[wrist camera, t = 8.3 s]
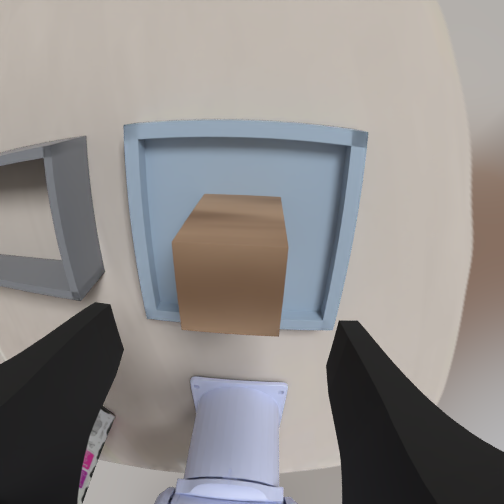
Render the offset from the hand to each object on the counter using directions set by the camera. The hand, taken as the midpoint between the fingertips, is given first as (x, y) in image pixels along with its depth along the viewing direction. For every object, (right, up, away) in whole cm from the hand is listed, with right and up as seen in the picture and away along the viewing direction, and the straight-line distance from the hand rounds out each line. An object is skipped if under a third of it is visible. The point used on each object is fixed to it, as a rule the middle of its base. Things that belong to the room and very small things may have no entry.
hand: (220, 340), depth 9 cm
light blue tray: (0, +4, +8) cm, 9 cm away
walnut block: (0, +4, +7) cm, 8 cm away
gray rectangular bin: (-18, +6, +8) cm, 20 cm away
